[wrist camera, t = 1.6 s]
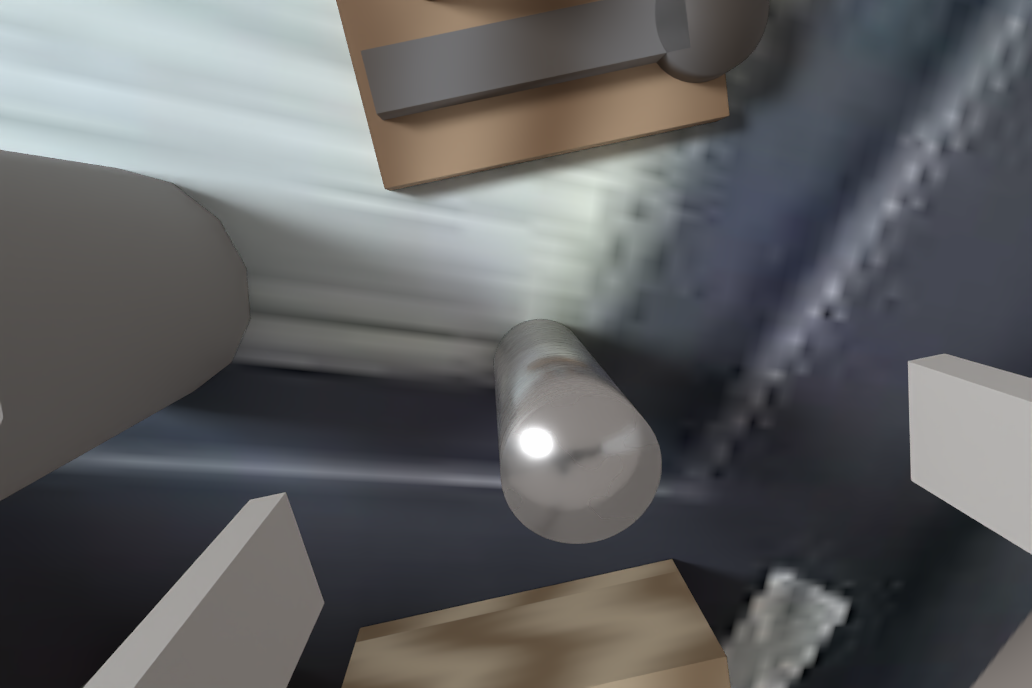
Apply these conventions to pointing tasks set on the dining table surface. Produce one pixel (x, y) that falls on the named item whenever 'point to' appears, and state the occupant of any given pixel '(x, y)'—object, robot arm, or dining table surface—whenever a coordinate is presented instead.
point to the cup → (103, 306)
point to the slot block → (552, 639)
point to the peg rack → (536, 76)
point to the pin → (569, 438)
